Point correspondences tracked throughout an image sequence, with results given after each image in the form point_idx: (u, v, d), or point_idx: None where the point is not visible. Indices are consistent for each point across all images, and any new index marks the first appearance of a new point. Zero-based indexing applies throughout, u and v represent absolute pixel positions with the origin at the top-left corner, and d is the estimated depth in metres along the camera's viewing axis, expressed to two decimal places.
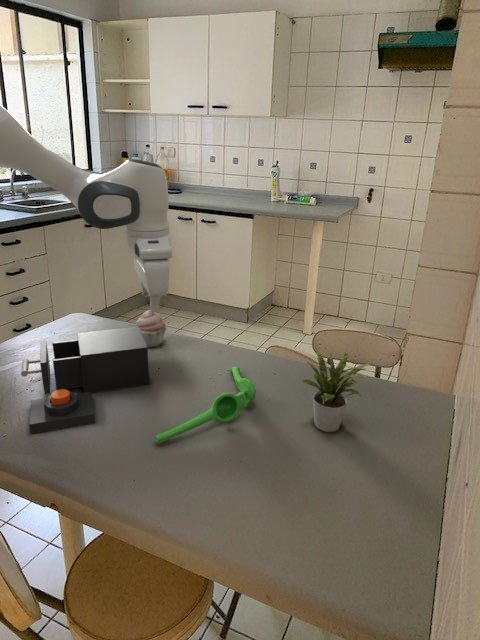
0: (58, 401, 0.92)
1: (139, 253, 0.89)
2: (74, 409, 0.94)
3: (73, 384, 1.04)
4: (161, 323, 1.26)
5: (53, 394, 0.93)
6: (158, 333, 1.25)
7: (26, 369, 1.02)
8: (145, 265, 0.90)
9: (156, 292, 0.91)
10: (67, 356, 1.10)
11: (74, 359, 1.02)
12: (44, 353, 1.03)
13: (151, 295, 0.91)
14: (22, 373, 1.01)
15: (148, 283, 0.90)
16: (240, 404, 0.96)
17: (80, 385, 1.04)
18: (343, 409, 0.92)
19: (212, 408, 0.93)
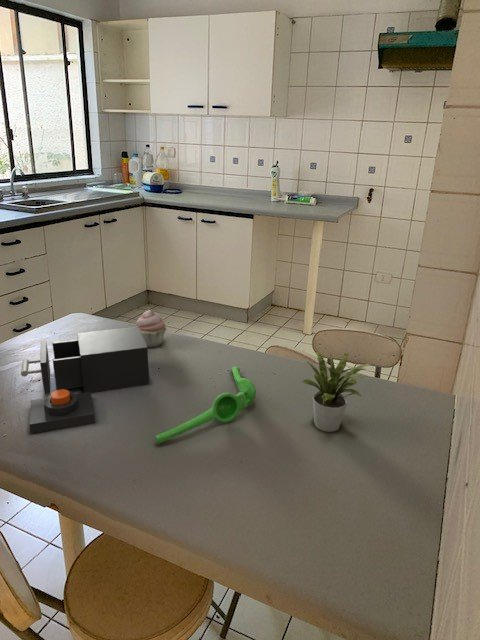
0: (58, 401, 0.92)
1: None
2: (74, 409, 0.94)
3: (73, 384, 1.04)
4: (161, 323, 1.26)
5: (53, 394, 0.93)
6: (158, 333, 1.25)
7: (26, 369, 1.02)
8: None
9: None
10: (67, 356, 1.10)
11: (74, 359, 1.02)
12: (44, 353, 1.03)
13: None
14: (22, 373, 1.01)
15: None
16: (240, 404, 0.96)
17: (80, 385, 1.04)
18: (343, 409, 0.92)
19: (212, 408, 0.93)
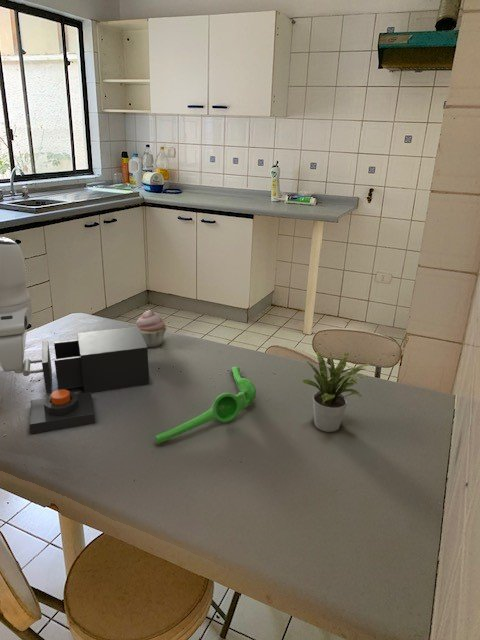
0: (58, 401, 0.92)
1: None
2: (74, 409, 0.94)
3: (75, 384, 1.04)
4: (161, 323, 1.26)
5: (53, 394, 0.93)
6: (158, 333, 1.25)
7: (28, 369, 1.02)
8: None
9: (9, 367, 0.92)
10: (69, 356, 1.11)
11: (76, 359, 1.02)
12: (46, 353, 1.03)
13: (5, 370, 0.93)
14: (24, 373, 1.01)
15: (0, 359, 0.91)
16: (240, 404, 0.96)
17: (82, 385, 1.05)
18: (343, 409, 0.92)
19: (212, 408, 0.93)
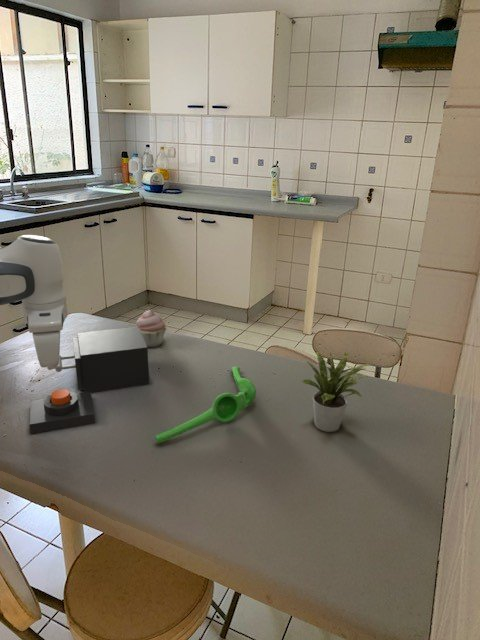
0: (58, 401, 0.92)
1: None
2: (74, 409, 0.94)
3: None
4: (161, 323, 1.26)
5: (53, 394, 0.93)
6: (158, 333, 1.25)
7: (60, 365, 1.04)
8: (34, 338, 0.93)
9: (46, 363, 0.95)
10: None
11: None
12: (77, 349, 1.05)
13: (41, 366, 0.95)
14: (56, 368, 1.03)
15: (37, 355, 0.94)
16: (240, 404, 0.96)
17: None
18: (343, 409, 0.92)
19: (212, 408, 0.93)
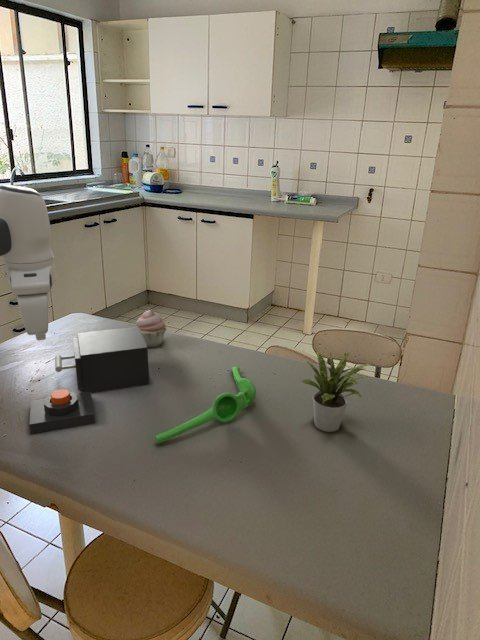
0: (58, 401, 0.92)
1: (11, 288, 0.82)
2: (74, 409, 0.94)
3: None
4: (161, 323, 1.26)
5: (53, 394, 0.93)
6: (158, 333, 1.25)
7: (60, 365, 1.04)
8: (18, 301, 0.82)
9: (33, 329, 0.84)
10: None
11: None
12: (77, 349, 1.05)
13: (28, 333, 0.84)
14: (56, 368, 1.03)
15: (23, 320, 0.83)
16: (240, 404, 0.96)
17: None
18: (343, 409, 0.92)
19: (212, 408, 0.93)
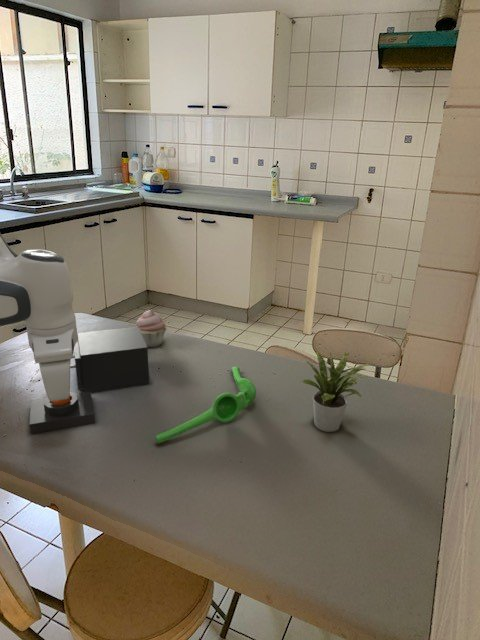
0: (58, 404, 0.93)
1: (34, 356, 0.81)
2: (74, 409, 0.94)
3: None
4: (161, 323, 1.26)
5: None
6: (158, 333, 1.25)
7: None
8: (41, 369, 0.81)
9: (55, 396, 0.83)
10: None
11: None
12: (77, 349, 1.05)
13: (50, 400, 0.83)
14: None
15: (45, 388, 0.82)
16: (240, 404, 0.96)
17: None
18: (343, 409, 0.92)
19: (212, 408, 0.93)
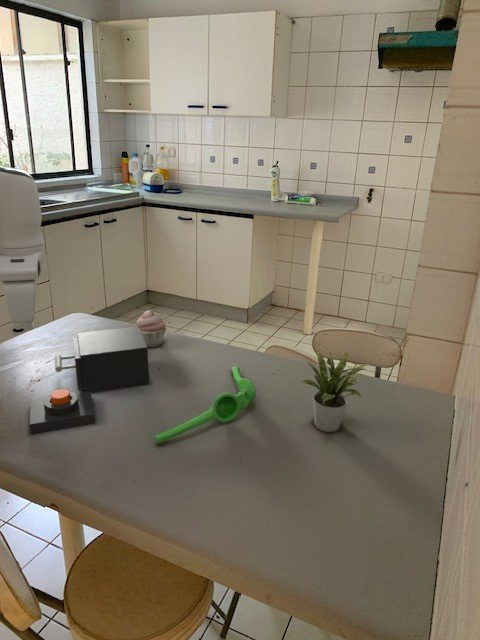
0: (58, 401, 0.92)
1: None
2: (74, 409, 0.94)
3: None
4: (161, 323, 1.26)
5: (53, 394, 0.93)
6: (158, 333, 1.25)
7: (60, 365, 1.04)
8: (4, 287, 0.78)
9: (18, 318, 0.79)
10: None
11: None
12: (77, 349, 1.05)
13: (13, 321, 0.80)
14: (56, 368, 1.03)
15: (8, 308, 0.79)
16: (240, 404, 0.96)
17: None
18: (343, 409, 0.92)
19: (212, 408, 0.93)
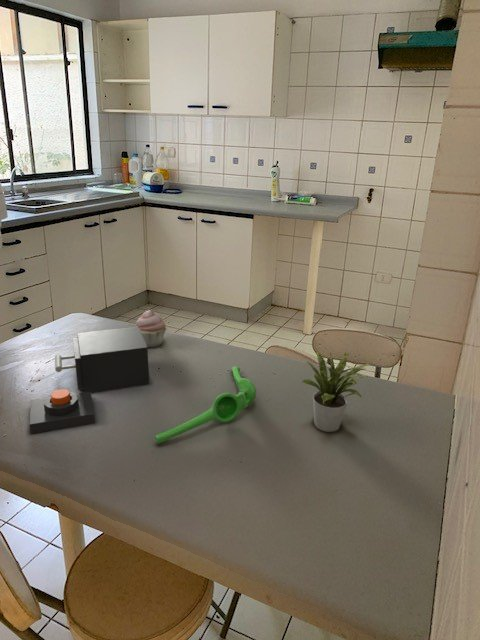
0: (58, 401, 0.92)
1: None
2: (74, 409, 0.94)
3: None
4: (161, 323, 1.26)
5: (53, 394, 0.93)
6: (158, 333, 1.25)
7: (60, 365, 1.04)
8: None
9: None
10: None
11: None
12: (77, 349, 1.05)
13: None
14: (56, 368, 1.03)
15: None
16: (240, 404, 0.96)
17: None
18: (343, 409, 0.92)
19: (212, 408, 0.93)
